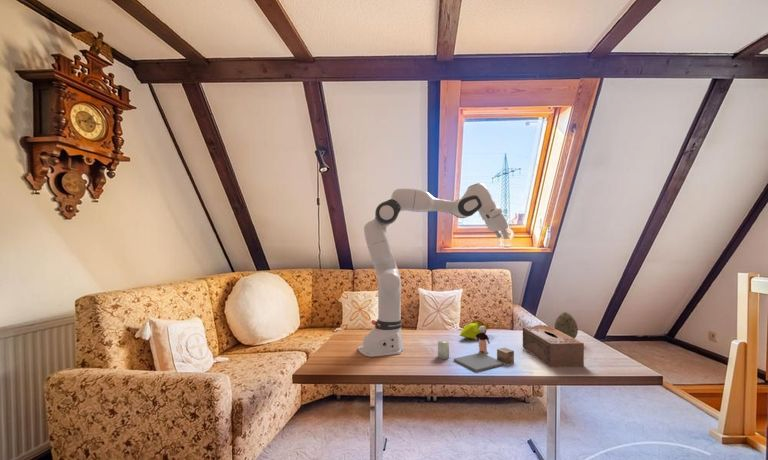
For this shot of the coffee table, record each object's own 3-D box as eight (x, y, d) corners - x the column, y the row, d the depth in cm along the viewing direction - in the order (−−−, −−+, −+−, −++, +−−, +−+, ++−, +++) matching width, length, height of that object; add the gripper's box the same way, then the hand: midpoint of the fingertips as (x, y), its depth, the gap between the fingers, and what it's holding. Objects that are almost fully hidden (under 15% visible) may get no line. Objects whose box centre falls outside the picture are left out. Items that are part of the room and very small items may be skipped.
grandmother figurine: (491, 352, 163) (491, 326, 163) (489, 355, 159) (489, 327, 160) (475, 349, 167) (475, 323, 167) (473, 351, 164) (473, 325, 164)
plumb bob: (467, 344, 176) (500, 331, 189) (463, 327, 177) (495, 314, 190) (455, 344, 183) (487, 331, 196) (451, 327, 184) (483, 315, 198)
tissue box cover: (522, 347, 172) (522, 327, 172) (550, 346, 173) (550, 326, 173) (551, 367, 146) (551, 343, 146) (583, 366, 147) (583, 343, 147)
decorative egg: (553, 337, 187) (552, 309, 187) (575, 339, 184) (575, 310, 184) (556, 343, 177) (556, 313, 177) (579, 345, 174) (579, 315, 174)
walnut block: (505, 364, 149) (505, 352, 149) (497, 360, 153) (497, 349, 153) (513, 362, 151) (513, 350, 151) (505, 358, 156) (505, 347, 156)
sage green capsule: (442, 359, 154) (442, 344, 154) (435, 356, 158) (435, 340, 158) (451, 357, 156) (451, 342, 156) (444, 354, 161) (444, 339, 161)
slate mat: (476, 372, 140) (476, 369, 140) (453, 360, 152) (453, 358, 152) (504, 365, 148) (504, 362, 148) (480, 354, 160) (480, 352, 160)
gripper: (478, 217, 180) (491, 240, 179) (490, 215, 159) (504, 241, 159) (489, 211, 179) (501, 234, 179) (502, 208, 159) (516, 234, 159)
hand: (503, 237), depth 169 cm, fingers open, 8 cm apart
